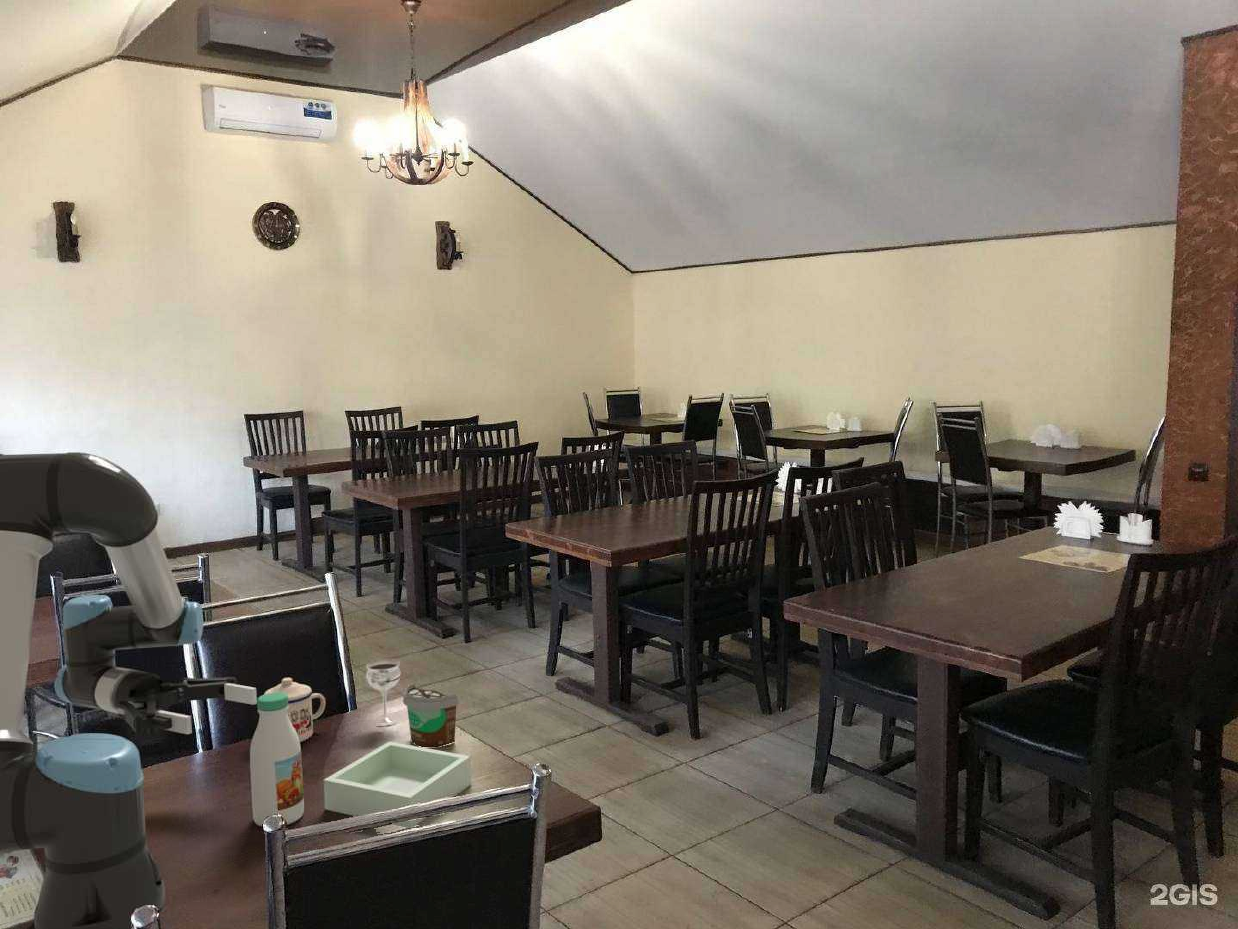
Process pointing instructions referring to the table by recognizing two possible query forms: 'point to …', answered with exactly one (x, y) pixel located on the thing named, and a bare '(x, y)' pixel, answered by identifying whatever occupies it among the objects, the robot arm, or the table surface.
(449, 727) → the food container
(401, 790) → the pale green tray
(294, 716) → the teacup with lid
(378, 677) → the wineglass
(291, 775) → the milk bottle
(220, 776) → the table surface
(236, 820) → the table surface
